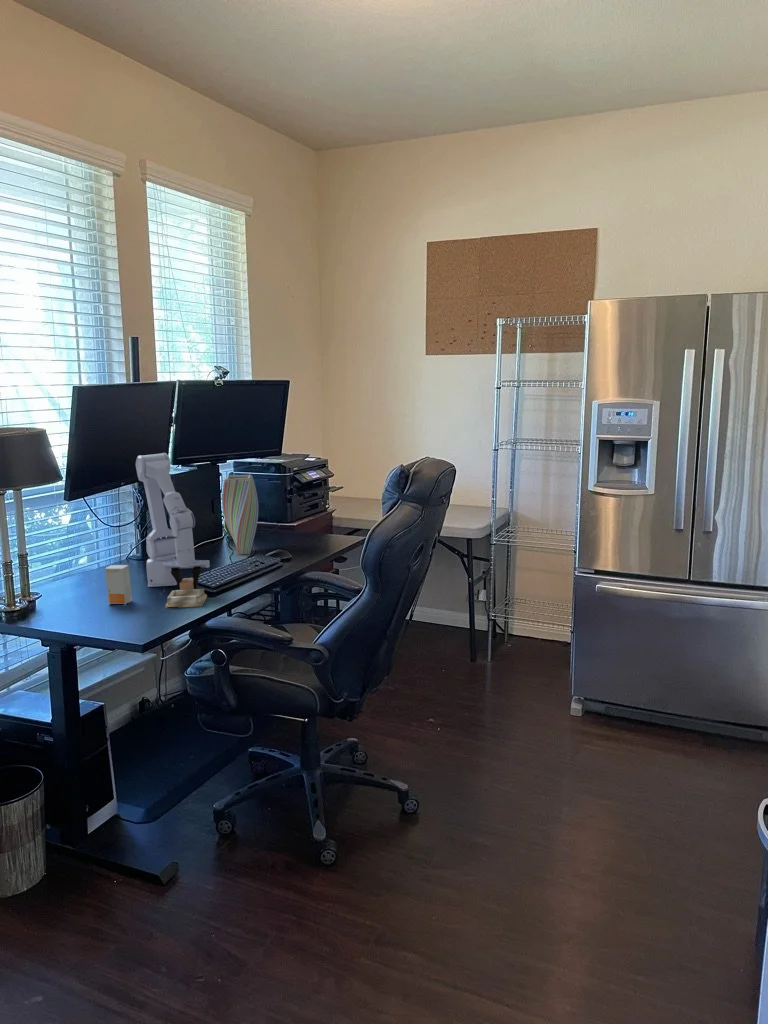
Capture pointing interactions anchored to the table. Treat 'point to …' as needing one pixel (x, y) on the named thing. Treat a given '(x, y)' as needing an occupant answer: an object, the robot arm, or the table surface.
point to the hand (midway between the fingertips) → (188, 589)
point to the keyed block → (187, 584)
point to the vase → (240, 510)
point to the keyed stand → (186, 598)
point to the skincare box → (118, 584)
